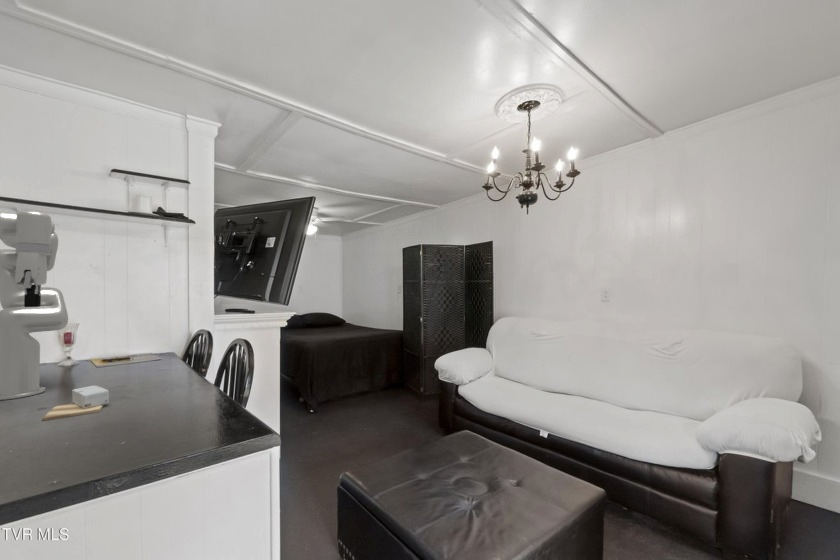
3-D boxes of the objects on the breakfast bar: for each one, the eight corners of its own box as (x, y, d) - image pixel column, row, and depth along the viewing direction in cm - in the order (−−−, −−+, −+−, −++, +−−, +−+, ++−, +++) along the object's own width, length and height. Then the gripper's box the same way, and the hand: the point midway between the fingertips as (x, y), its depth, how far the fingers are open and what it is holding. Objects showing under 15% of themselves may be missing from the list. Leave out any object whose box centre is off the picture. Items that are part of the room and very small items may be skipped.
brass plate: (55, 408, 107) (55, 405, 107) (106, 400, 114) (106, 398, 114) (42, 421, 97) (42, 418, 97) (99, 411, 103) (99, 409, 104)
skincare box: (95, 384, 115) (110, 388, 109) (96, 398, 115) (110, 402, 109) (70, 389, 110) (84, 394, 104) (70, 403, 110) (84, 409, 104)
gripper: (24, 251, 114) (23, 306, 114) (6, 247, 102) (5, 308, 101) (56, 253, 118) (55, 305, 118) (42, 248, 106) (41, 307, 106)
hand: (32, 306), depth 110 cm, fingers closed
